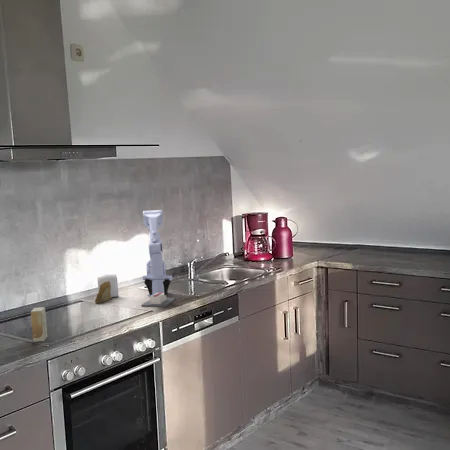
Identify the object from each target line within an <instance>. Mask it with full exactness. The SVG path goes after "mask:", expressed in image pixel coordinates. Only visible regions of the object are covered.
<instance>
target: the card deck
mask: <svg viewBox="0 0 450 450" xmlns="http://www.w3.org/2000/svg"><path fill="white" fill-rule="evenodd" d="M166 298H167V295H164V293H163V292H159V293H155V294H154V295H152V296H149V300H150V304H161V303H162V302H164V301H165V300H166Z"/></svg>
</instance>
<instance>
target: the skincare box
mask: <svg viewBox="0 0 450 450" xmlns="http://www.w3.org/2000/svg"><path fill="white" fill-rule="evenodd" d="M30 319H31V320H30V321H31V322H30V323H31V331H32V332H31V333H32V342H36V343H37V342H45V341H46V340H47V337H48V329H47V316H46V308H45V307H44V306H41V307H33V308H32V310H31V311H30Z"/></svg>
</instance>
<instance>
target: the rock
mask: <svg viewBox="0 0 450 450" xmlns="http://www.w3.org/2000/svg"><path fill="white" fill-rule="evenodd" d="M110 291H111V283H110V282H109V281H108V282H104V283H103V284H102V285H100V289H99V292H98V293H97V294H96V298H95V301H94V304H101V303H105V302H107V301H110V300H112V297H111V293H110Z"/></svg>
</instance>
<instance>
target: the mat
mask: <svg viewBox="0 0 450 450" xmlns="http://www.w3.org/2000/svg"><path fill="white" fill-rule="evenodd" d="M175 301H176V298H169V297H166V300H165V301H164V302H162V303H161V304H150V299H149V300H147V301H145V302H143V303H142V304H141V307H146V308H147V307H150V308H151V307H153V308H155V307H156V308H158V307H159V308H160V307H164V308H165V307H168V306H169V305H171V304H172V303H174V302H175Z"/></svg>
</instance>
